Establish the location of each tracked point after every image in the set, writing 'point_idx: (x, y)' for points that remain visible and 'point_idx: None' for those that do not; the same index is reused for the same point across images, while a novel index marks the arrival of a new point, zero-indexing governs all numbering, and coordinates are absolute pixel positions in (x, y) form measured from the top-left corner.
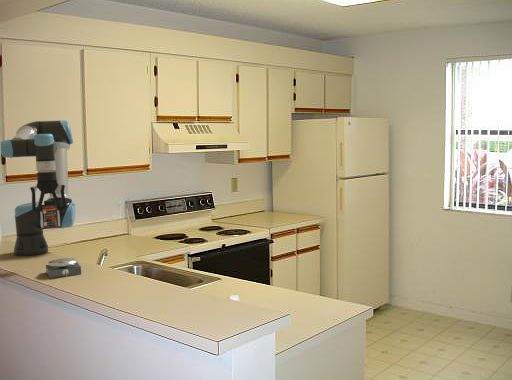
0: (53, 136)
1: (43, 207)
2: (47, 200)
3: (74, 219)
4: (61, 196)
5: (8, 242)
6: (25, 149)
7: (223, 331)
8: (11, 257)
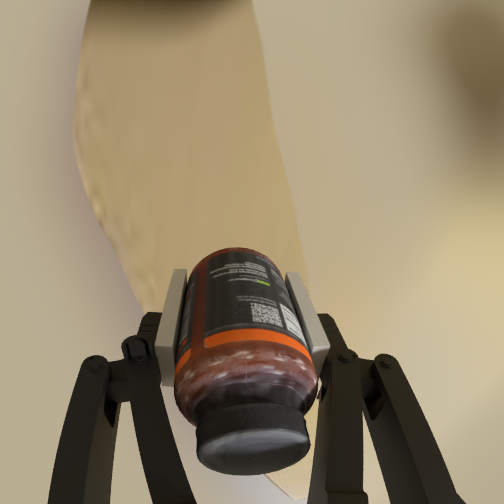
0: None
1: (188, 421)
2: (241, 450)
3: None
4: (391, 468)
5: None
6: None
7: (307, 495)
8: None
